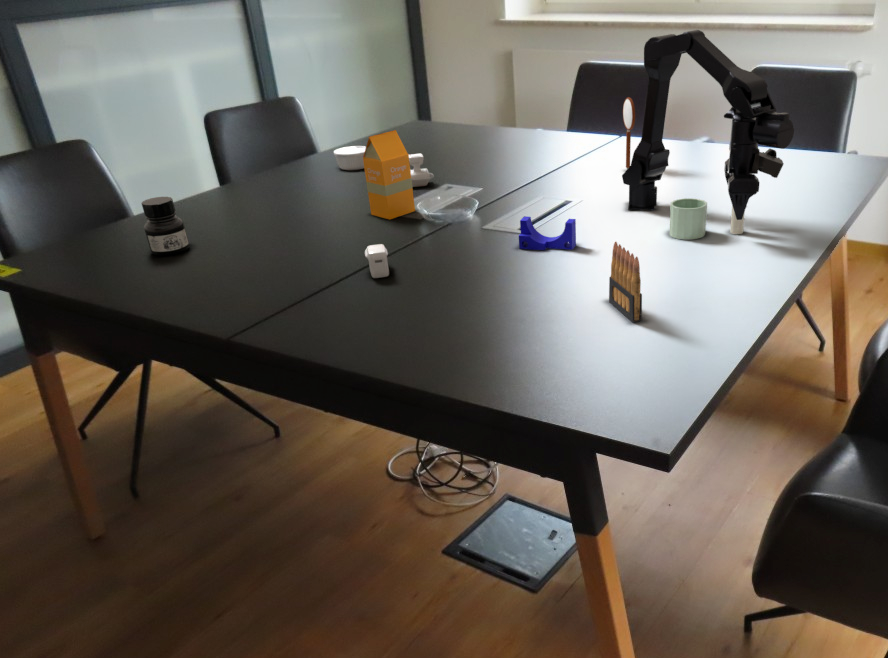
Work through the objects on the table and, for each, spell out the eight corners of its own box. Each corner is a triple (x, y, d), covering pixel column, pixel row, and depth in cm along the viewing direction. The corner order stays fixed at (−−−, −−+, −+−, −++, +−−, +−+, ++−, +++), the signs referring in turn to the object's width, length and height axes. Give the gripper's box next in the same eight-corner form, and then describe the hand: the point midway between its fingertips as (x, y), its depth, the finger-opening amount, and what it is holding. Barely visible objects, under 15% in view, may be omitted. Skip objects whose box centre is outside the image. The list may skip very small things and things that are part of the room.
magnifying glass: (635, 174, 233) (637, 99, 223) (629, 174, 233) (631, 100, 222) (625, 166, 240) (627, 94, 230) (620, 167, 240) (621, 95, 230)
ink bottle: (151, 259, 192) (136, 209, 185) (147, 249, 198) (132, 200, 192) (194, 251, 195) (181, 201, 189) (189, 241, 202) (175, 192, 196)
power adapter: (365, 262, 182) (361, 237, 179) (387, 260, 183) (384, 234, 180) (369, 280, 173) (365, 253, 170) (392, 277, 173) (388, 250, 170)
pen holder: (669, 239, 184) (670, 208, 181) (669, 228, 191) (670, 198, 187) (705, 239, 183) (707, 208, 179) (704, 228, 190) (706, 198, 186)
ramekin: (379, 164, 259) (377, 147, 257) (355, 172, 252) (353, 155, 249) (353, 161, 265) (350, 144, 262) (329, 169, 257) (326, 152, 254)
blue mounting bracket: (519, 248, 185) (517, 222, 181) (525, 242, 188) (524, 216, 185) (570, 252, 181) (569, 225, 178) (575, 245, 185) (575, 219, 181)
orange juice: (415, 210, 214) (406, 131, 203) (389, 219, 209) (378, 138, 198) (396, 206, 219) (386, 128, 208) (370, 214, 213) (358, 135, 203)
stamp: (404, 189, 232) (400, 159, 228) (402, 183, 238) (398, 154, 233) (435, 186, 233) (432, 156, 229) (433, 180, 239) (430, 151, 234)
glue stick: (730, 234, 185) (732, 199, 181) (729, 230, 188) (732, 195, 183) (743, 234, 185) (746, 199, 180) (742, 230, 187) (745, 195, 183)
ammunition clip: (608, 301, 156) (609, 240, 150) (617, 299, 157) (618, 239, 151) (632, 322, 148) (634, 259, 141) (641, 320, 148) (643, 257, 142)
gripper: (788, 151, 167) (779, 226, 175) (778, 131, 182) (770, 200, 190) (732, 152, 168) (726, 226, 177) (727, 132, 184) (721, 201, 192)
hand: (737, 213), depth 184 cm, fingers open, 9 cm apart
